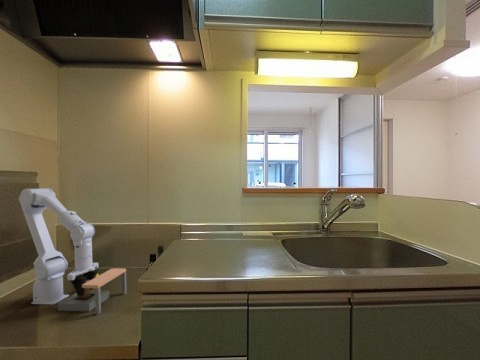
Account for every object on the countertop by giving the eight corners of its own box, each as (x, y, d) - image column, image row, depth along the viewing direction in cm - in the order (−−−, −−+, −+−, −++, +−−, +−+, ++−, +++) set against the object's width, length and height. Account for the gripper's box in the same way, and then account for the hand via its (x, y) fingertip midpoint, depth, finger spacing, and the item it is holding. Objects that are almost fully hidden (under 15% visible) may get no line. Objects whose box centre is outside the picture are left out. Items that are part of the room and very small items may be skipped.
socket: (57, 310, 99) (57, 303, 99) (81, 296, 111) (80, 290, 111) (89, 311, 98) (89, 304, 98) (109, 297, 110) (109, 290, 110)
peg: (76, 302, 103) (75, 283, 103) (83, 297, 107) (82, 279, 107) (86, 302, 102) (86, 283, 102) (93, 297, 106) (92, 279, 106)
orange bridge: (82, 314, 96) (81, 284, 96) (112, 293, 114) (112, 268, 114) (99, 314, 95) (98, 285, 95) (126, 293, 113) (126, 268, 113)
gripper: (80, 262, 97) (81, 301, 97) (105, 251, 111) (106, 285, 111) (61, 262, 98) (62, 301, 98) (88, 251, 112) (89, 285, 112)
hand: (84, 292), depth 104 cm, fingers closed on peg, 4 cm apart
